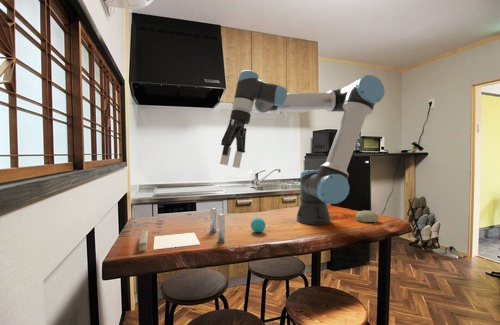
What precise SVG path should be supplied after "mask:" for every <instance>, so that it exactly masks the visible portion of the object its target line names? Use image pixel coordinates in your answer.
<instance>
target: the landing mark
mask: <svg viewBox="0 0 500 325" xmlns="http://www.w3.org/2000/svg"><path fill="white" fill-rule="evenodd" d="M192 246H201V243H200V241H199V239H198V237H197V235H196V233H195V232H188V233H187V232H185V233H177V234H165V235H155V236H154V238H153V249H152V250H153V251H156V250H164V249H165V250H166V249H175V247H176V248H182V247H192Z"/></svg>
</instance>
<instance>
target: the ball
mask: <svg viewBox="0 0 500 325" xmlns="http://www.w3.org/2000/svg"><path fill="white" fill-rule="evenodd" d="M250 227H251V230H252V231H253V232H255V233H262V232H263V231H264V230H265V228H266V221H264V219H263V218H261V217H255V218H254V219H252V221H251V223H250Z"/></svg>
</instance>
